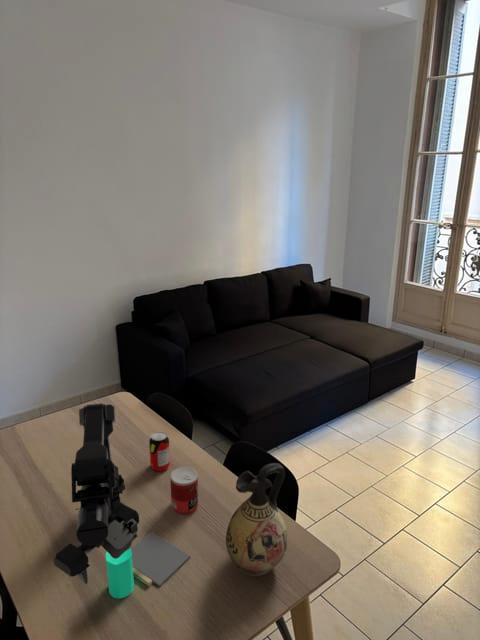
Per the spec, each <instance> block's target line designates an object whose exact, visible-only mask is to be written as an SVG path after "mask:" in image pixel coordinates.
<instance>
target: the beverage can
mask: <svg viewBox="0 0 480 640" xmlns="http://www.w3.org/2000/svg"><path fill="white" fill-rule="evenodd" d="M149 461H150V462H149V463H150V467H151V469H153V470H154V471H157V472H163V471H165V470H167V469H169V467H170V465H171V457H170V439H169V437H168V434H167V433H166V432H165V431H155V432H153V433H152V434H151V435H150V438H149Z"/></svg>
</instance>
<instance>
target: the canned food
mask: <svg viewBox="0 0 480 640" xmlns="http://www.w3.org/2000/svg"><path fill="white" fill-rule="evenodd" d="M198 475H199V474H198V472H197V471H196V470H195V469H194V468H192V467H185V466H180V467H177V468H176V469H173V470H172V471H171V473H170V477H169V478H170V479H169V480H170V501H171V503H170V504H171V508H172V509H173V511H174V512H175V513H177V514H180V515H190V514H192V513H194V512H195V511H196V510H197V508H198V506H199V477H198Z"/></svg>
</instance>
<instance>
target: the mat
mask: <svg viewBox="0 0 480 640" xmlns="http://www.w3.org/2000/svg"><path fill="white" fill-rule="evenodd" d="M130 549H131V552H132V564H133V567H134V568H135V569H137V570H138V571H140V572H141V573H142V574H144V575H145V576H147V577H148V578H149V579H151V580H152V584H155V585H156V586H158V587H159V588H160V587H162V585H164V584H165V583H166V582H167V581H168V580H170V578H171V577H172V576H173V575H174V574H175V573H176V572H177V571H178V570H179V569H180V568H181V567H182V566H184V564H185V563H186V562H187V561H188V560H190V559H191V556H190V554H188V553H186V552H185V551H183V550H181V549H180V548H178V547H177V546H176V545H173V544H172V543H170V542H169V541H167V540H166V539H165V538H162V537H161V536H160V535H158V534H156V533H155V532H153V531H150V532H149V533H148V534H147V535H145V536H144V537H143V538H142V539H141V540H139V541H138V542H137V543H136V544H135V545H133V546H132V547H130Z"/></svg>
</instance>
